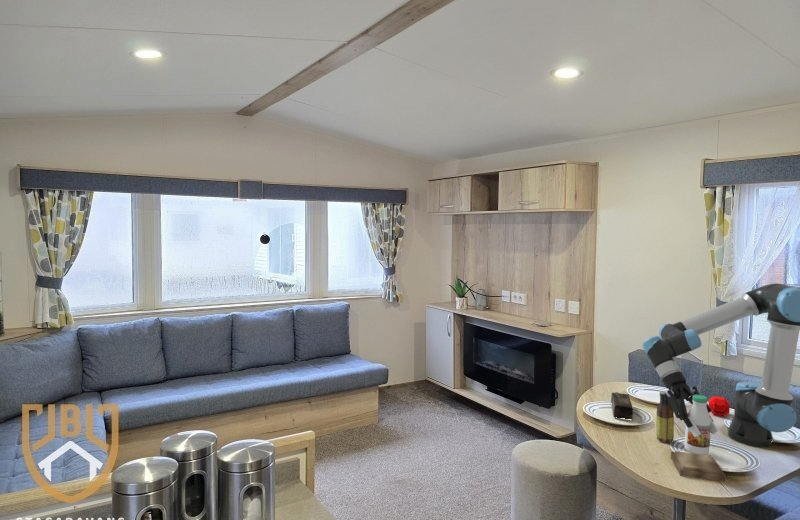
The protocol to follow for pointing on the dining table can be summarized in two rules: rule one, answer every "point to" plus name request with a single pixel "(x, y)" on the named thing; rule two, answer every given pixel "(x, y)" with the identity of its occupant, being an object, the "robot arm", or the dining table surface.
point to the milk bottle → (699, 427)
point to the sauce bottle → (664, 420)
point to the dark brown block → (621, 406)
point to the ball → (719, 406)
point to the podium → (697, 466)
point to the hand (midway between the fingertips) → (706, 434)
